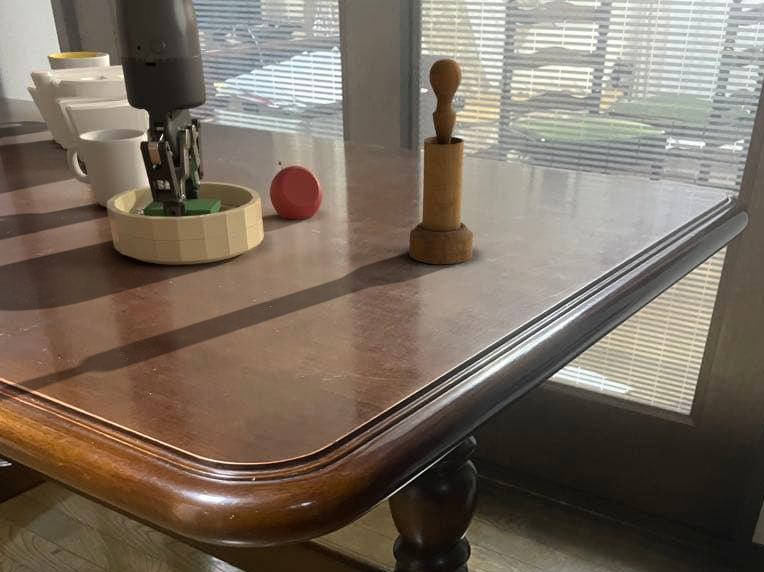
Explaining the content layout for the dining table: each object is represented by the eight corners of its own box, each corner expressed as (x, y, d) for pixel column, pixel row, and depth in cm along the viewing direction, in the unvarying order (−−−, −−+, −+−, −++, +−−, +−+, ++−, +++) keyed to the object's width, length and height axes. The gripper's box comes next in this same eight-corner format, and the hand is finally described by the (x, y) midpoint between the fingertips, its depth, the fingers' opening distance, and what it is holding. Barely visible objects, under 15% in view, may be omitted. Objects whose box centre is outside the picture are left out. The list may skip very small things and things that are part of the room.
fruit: (318, 226, 108) (304, 159, 107) (331, 211, 102) (316, 141, 101) (270, 232, 106) (255, 164, 105) (281, 217, 100) (265, 146, 99)
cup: (58, 208, 107) (42, 137, 103) (96, 193, 113) (83, 125, 109) (134, 215, 104) (122, 142, 100) (169, 199, 110) (159, 130, 106)
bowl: (94, 266, 88) (84, 217, 85) (141, 224, 101) (134, 180, 98) (247, 269, 87) (242, 219, 85) (275, 226, 100) (271, 182, 97)
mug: (126, 122, 156) (115, 55, 150) (67, 127, 152) (53, 58, 146) (107, 111, 166) (96, 48, 160) (52, 115, 162) (38, 51, 156)
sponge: (148, 243, 91) (143, 209, 89) (160, 231, 95) (155, 198, 93) (214, 245, 91) (210, 210, 89) (224, 232, 95) (220, 199, 93)
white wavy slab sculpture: (188, 166, 126) (177, 84, 120) (70, 178, 120) (52, 92, 114) (134, 127, 152) (123, 59, 146) (34, 136, 146) (18, 64, 140)
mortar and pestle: (447, 268, 87) (453, 65, 77) (396, 257, 91) (395, 60, 80) (484, 253, 92) (494, 58, 82) (434, 242, 95) (437, 54, 85)
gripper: (143, 42, 89) (169, 216, 99) (96, 59, 77) (130, 253, 87) (216, 43, 89) (235, 217, 99) (180, 59, 77) (205, 255, 87)
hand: (185, 233), depth 93 cm, fingers closed on sponge, 4 cm apart
